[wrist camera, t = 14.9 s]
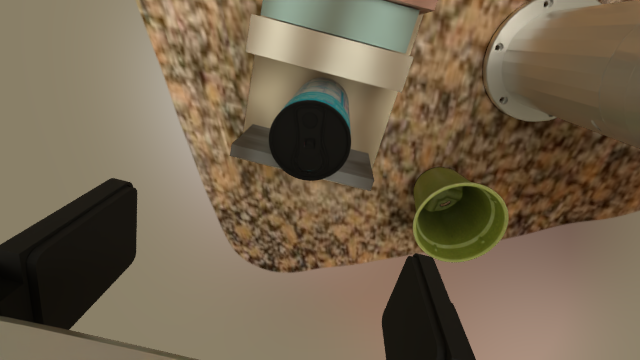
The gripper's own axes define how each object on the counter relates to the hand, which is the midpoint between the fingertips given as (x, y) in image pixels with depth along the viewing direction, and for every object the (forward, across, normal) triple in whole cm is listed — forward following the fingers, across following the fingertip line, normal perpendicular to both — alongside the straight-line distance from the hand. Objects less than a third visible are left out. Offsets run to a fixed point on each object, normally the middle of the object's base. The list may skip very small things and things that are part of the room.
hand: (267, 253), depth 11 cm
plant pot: (+30, -17, +7) cm, 35 cm away
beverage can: (+29, 0, 0) cm, 29 cm away
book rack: (+30, 0, -2) cm, 30 cm away
